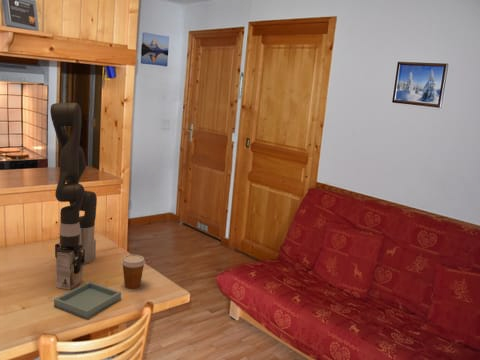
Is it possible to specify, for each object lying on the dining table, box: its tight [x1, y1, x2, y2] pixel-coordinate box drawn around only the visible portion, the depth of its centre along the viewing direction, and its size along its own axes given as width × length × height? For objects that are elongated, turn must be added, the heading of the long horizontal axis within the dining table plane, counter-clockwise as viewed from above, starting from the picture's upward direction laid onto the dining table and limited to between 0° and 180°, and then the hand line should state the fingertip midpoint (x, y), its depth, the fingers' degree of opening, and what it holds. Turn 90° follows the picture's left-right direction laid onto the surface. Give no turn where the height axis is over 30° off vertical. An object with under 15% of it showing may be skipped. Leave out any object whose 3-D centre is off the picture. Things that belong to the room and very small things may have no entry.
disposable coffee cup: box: [121, 254, 146, 290], centre depth 184 cm, size 10×10×12 cm
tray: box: [53, 281, 122, 320], centre depth 168 cm, size 18×16×3 cm
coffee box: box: [55, 245, 83, 291], centre depth 179 cm, size 9×6×16 cm
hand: (69, 270), depth 180 cm, fingers closed on coffee box, 7 cm apart
